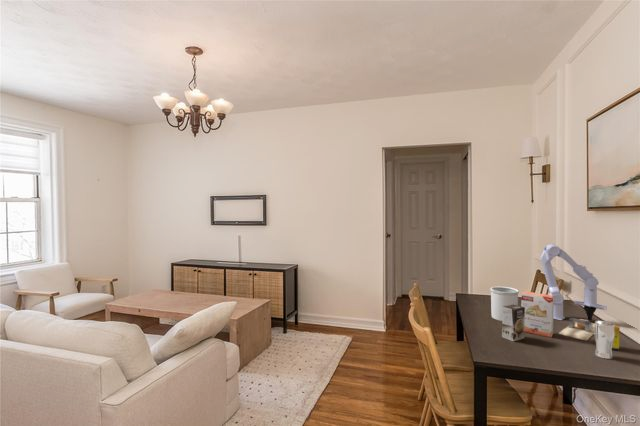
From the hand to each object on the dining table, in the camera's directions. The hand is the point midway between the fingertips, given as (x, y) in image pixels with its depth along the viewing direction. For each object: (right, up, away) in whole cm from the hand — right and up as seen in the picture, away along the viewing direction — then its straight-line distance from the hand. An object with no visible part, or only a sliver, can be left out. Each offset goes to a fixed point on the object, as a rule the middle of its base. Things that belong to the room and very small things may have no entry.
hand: (589, 319), depth 196 cm
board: (-15, -2, -12) cm, 19 cm away
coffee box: (-59, -2, -24) cm, 64 cm away
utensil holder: (-47, -1, +6) cm, 47 cm away
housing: (-16, -1, -13) cm, 20 cm away
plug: (-9, -1, -7) cm, 11 cm away
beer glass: (-30, -3, -44) cm, 53 cm away
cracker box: (-42, -2, -18) cm, 46 cm away
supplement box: (-19, -2, -35) cm, 40 cm away
